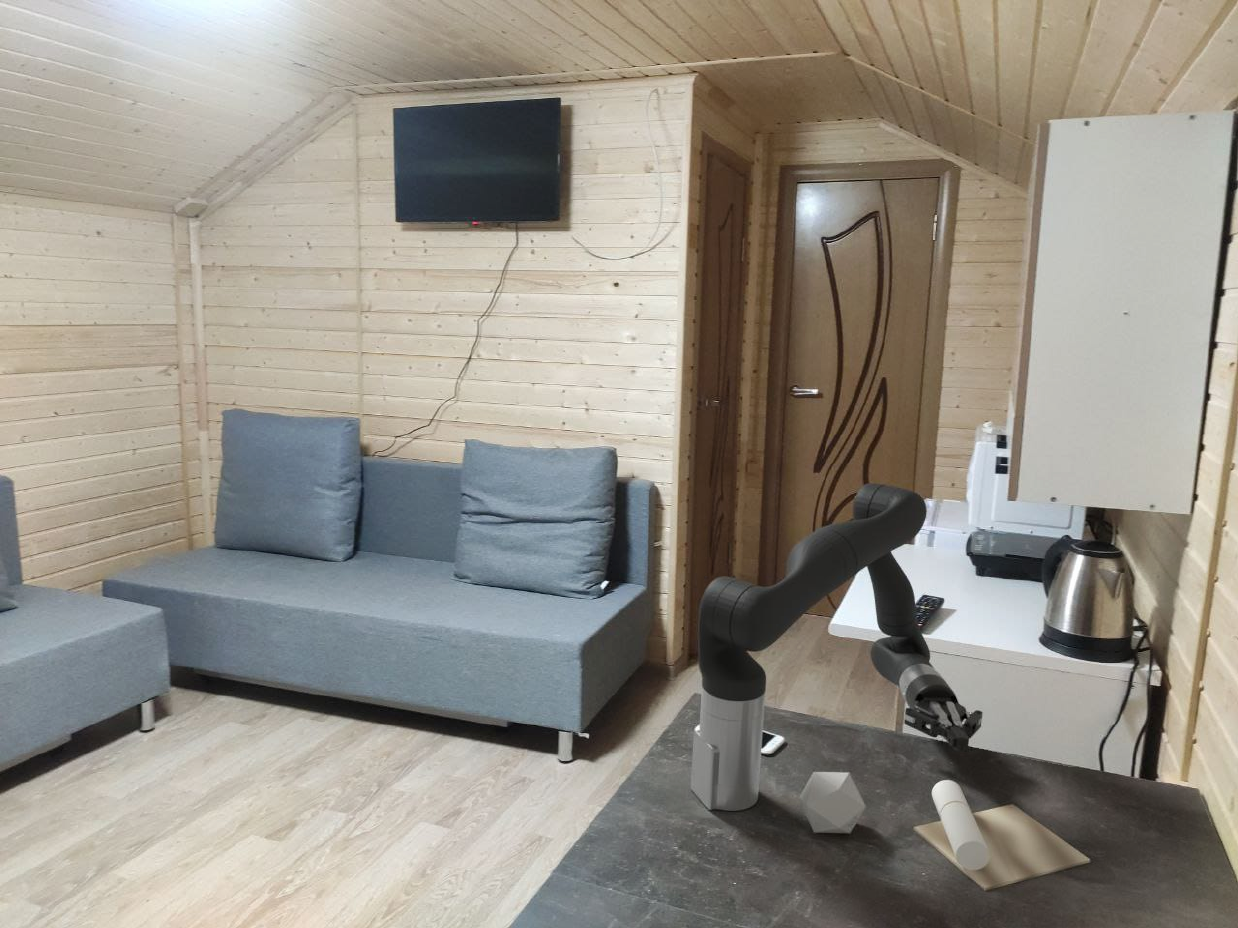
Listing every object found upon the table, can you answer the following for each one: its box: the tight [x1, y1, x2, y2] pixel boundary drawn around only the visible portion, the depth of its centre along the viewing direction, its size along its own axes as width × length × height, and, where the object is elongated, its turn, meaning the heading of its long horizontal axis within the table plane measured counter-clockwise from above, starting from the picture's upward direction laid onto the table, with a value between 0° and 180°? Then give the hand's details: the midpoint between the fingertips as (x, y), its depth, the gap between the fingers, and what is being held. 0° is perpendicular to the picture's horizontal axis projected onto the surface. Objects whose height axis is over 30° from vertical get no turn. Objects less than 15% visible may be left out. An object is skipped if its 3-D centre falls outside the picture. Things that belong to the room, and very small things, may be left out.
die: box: [798, 771, 867, 834], centre depth 131 cm, size 8×9×10 cm
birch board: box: [913, 804, 1091, 892], centre depth 129 cm, size 18×14×1 cm
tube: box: [931, 779, 990, 870], centre depth 129 cm, size 4×4×15 cm
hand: (962, 745), depth 142 cm, fingers closed
